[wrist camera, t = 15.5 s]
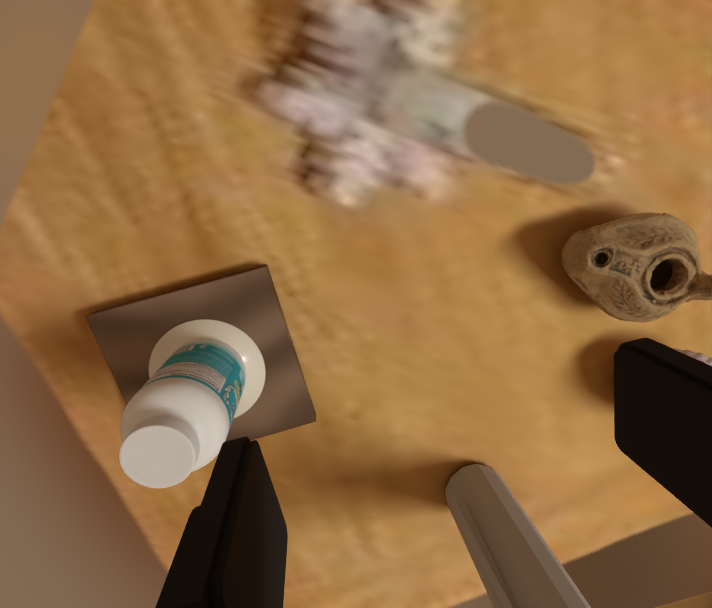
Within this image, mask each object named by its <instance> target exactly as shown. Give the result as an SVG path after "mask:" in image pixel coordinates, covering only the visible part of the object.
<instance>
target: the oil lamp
mask: <svg viewBox="0 0 712 608" xmlns="http://www.w3.org/2000/svg"><path fill="white" fill-rule="evenodd" d="M561 261H562V266H563V268H564V269H565V271H566V273H567V275H568V276H569V277H570V278H571V279H572V280H573V281H574V282H575V283H576V285H577V286H578V287H579V288H580V289H581V290H582V291H583V292H584V293H585V294H586V295H587V296H588V297H589V298H590V299H592V301H593V302H594V303H595V304H596V305H597V306H598V307H599V308H600V309H602V310H603V311H604V312H605V313H607V314H608V315H610V316H612V317H614V318H616V319H619V320H624V321H633V322H649V321H653V320H657V319H659V318H661V317H664V316H666V315H668V314H670V313H671V312H673V311H674V310H675V309H677V308H678V307H679V306H680V305H681V304H682V303H684V302H689V301H691V300H712V275H708V274H706V273H705V272H703V271H701V257H700V251H699V246H698V242H697V236H696V234H695V232H694V230H693V229H692V228H690V227H689V226H688V225H687V224H685V223H684V222H683V221H681V220H680V219H678V218H676V217H674V216H672V215H670V214H667V213H663V214H661V213H640V214H635V215H630V216H626V217H622V218H619V219H615V220H612V221H609V222H607V223H603V224H601V225H597V226H593V227H590V228H588V229H586V230H580V231H577V232H575V233H574V234H573V235H571V237H570V238H569V239H568V240H567V243H566V244H565V246H564V248H563V250H562V256H561Z"/></svg>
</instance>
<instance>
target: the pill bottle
mask: <svg viewBox="0 0 712 608" xmlns="http://www.w3.org/2000/svg"><path fill="white" fill-rule="evenodd" d="M245 384H246V368H245V364H244V362H243V360H242V358H241V356H240V355H239V354H238V352H237V351H236V350H235V349H233V348H232V347H231V346H229V345H228V344H226V343H224V342H221V341H218V340H214V339H197V340H193V341H190V342H188V343H186V344H184V345H182V346H181V347H179V348H178V349H177V350H176V351H175V352H174V353H173V354H172V355H171V356H170V357H169V358H168V359H167V361H166V362H165V363H164V364H163V365H162V366H161V367H160V368H159V369H158V370H157V371H156V373H155V374H154V375H153V376H152V377H151V378H150V379H149V380H148V381H147V382H146V383H145V384H144V385H143V387H142V388H141V389H140V390H139V391H138V392H137V393H136V394H135V395H134V396H133V398H132V399H131V400H130V401H129V403H128V404H127V406H126V408H125V410H124V412H123V415H122V419H121V425H120V432H121V438H122V442H123V443H122V445H121V448H120V452H119V459H120V464H121V467H122V469H123V471H124V472H125V473H126V475H127V476H128V477H129V478H130V479H132V480H133V481H134V482H136V483H138V484H140V485H143V486H146V487H150V488H166V487H170V486H173V485H176V484H178V483H180V482H182V481H183V480H184V479H185V478H186V477H187V476H188V475H189V474H190V473H191V472H193V471H195V470H198V469H200V468H202V467H204V466H205V465H207V464H208V463H209V462H211V461H212V460H213V459H214V458H215V457H216V456H217V455H218V453H219V452H220V449H221V446H222V444H223V442H225V440H226V438H227V435H228V432H229V430H230V426H231V424H232V421H233V418H234V415H235V412H236V410H237V407H238V404H239V401H240V398H241V396H242V393H243V390H244V387H245Z"/></svg>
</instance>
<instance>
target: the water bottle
mask: <svg viewBox="0 0 712 608" xmlns="http://www.w3.org/2000/svg"><path fill="white" fill-rule="evenodd" d="M445 494H446V500H447V504H448V507H449V509H450V511H451V513H452V515H453V518H454V520H455V522H456V524H457V527H458V529H459V531H460V533H461V535H462V538H463V540H464V542H465V544H466V547H467V549H468V551H469V553H470V556H471V558H472V560H473V562H474V564H475V567H476V569H477V571H478V573H479V576H480V578H481V580H482V582H483V584H484V587H485V589H486V591H487V593H488V596H489V598H490V600H491V602H492V604H493V607H494V608H591V607H590V606H589V604H588V603H587V601H586V600H585V598H584V597H583V596H582V594H581V593H580V591H579V590H578V588H577V587H576V585H575V584H574V583H573V581H572V580H571V578H570V577H569V575H568V574H567V572H566V571H565V569H564V568H563V566H562V565H561V564H560V562H559V561H558V559H557V558H556V556H555V555H554V553H553V552H552V550H551V549H550V548H549V546H548V545H547V543H546V542H545V540H544V539H543V537H542V536H541V535H540V533H539V532H538V530H537V529H536V527H535V526H534V524H533V523H532V521H531V520H530V519H529V517H528V516H527V514H526V513H525V511H524V510H523V508H522V507H521V505H520V504H519V503H518V501H517V500H516V498H515V497H514V495H513V494H512V492H511V491H510V489H509V488H508V487H507V485H506V484H505V482H504V481H503V479H502V478H501V476H500V475H499V474H498V473H497V472H496V471H495V470H494V469H493V468H492V467H489V466H484V465H480V464H472V465H468V466H465V467H462V468H460V469H459V470H458V471H457V472H456V473H455V474H454V475H453V476H451V478H450V480H449V483H448V485H447V487H446V490H445Z"/></svg>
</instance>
